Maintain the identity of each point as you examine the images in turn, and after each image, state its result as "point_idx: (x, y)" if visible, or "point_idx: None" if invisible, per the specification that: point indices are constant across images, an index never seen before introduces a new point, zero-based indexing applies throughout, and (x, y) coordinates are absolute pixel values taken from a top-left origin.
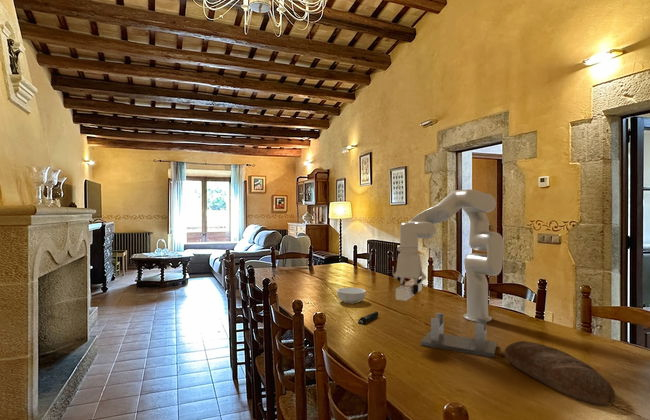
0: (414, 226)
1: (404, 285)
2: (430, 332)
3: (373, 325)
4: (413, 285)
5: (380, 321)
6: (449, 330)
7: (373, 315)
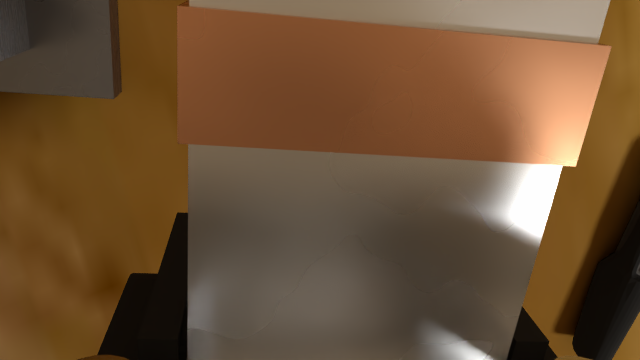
0: None
1: (459, 121)
2: (93, 85)
3: (585, 151)
4: (188, 327)
5: (542, 261)
6: (10, 273)
7: (614, 299)
